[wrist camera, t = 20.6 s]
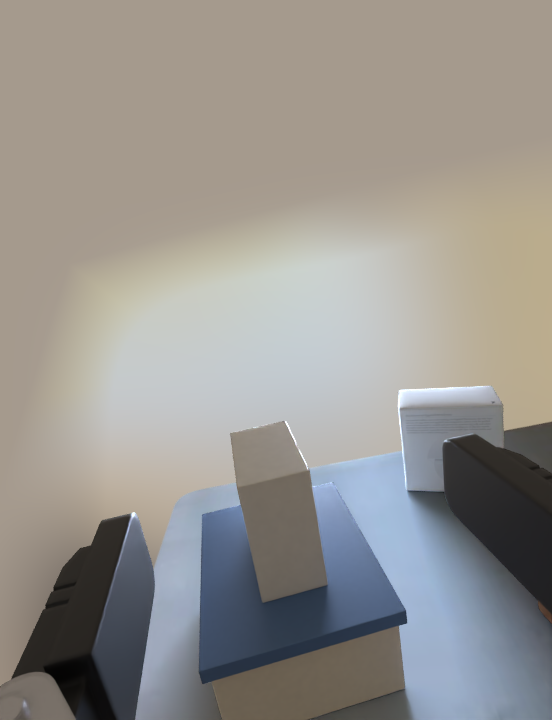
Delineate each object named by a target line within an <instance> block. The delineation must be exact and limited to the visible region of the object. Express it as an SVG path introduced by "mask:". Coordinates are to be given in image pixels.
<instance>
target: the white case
mask: <svg viewBox="0 0 552 720" xmlns="http://www.w3.org/2000/svg"><path fill="white" fill-rule="evenodd" d="M230 436H231V444H232V451H233V459H234V467H235V475H236V483H237V490H238V495H239V499H240V504H241V508H242V513H243V517H244V522H245V526H246V531H247V535H248V540H249V545H250V549H251V554H252V558H253V563H254V567H255V572H256V576H257V581H258V585H259V590H260V595H261V599H262V602H263V603H265V602H268V601H272V600H275V599H279V598H283V597H286V596H290V595H293V594H297V593H301V592H304V591H308V590H311V589H315V588H319V587H322V586H326V585H328V582H327V576H326V569H325V563H324V557H323V551H322V544H321V538H320V532H319V526H318V520H317V513H316V507H315V501H314V495H313V489H312V482H311V476H310V470H309V468H308V466H307V464H306V462H305V460H304V458H303V456H302V454H301V452H300V450H299V447H298V445H297V443H296V441H295V439H294V437H293V435H292V433H291V431H290V429H289V427H288V425H287V422H286V421H282V422H278V423H273V424H269V425H264V426H260V427H256V428H251V429H246V430H242V431H238V432H233V433H230Z"/></svg>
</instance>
